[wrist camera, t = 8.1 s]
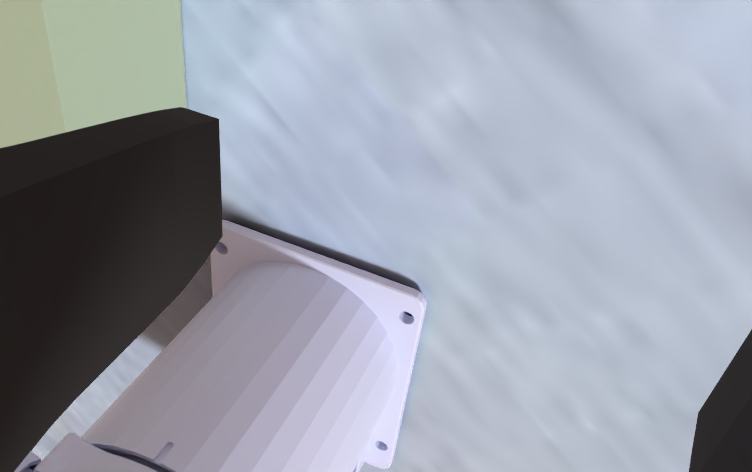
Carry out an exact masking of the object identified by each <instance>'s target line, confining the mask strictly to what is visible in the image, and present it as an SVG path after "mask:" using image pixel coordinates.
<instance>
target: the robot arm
mask: <svg viewBox="0 0 752 472" xmlns="http://www.w3.org/2000/svg"><path fill="white" fill-rule="evenodd" d="M222 243H223V244H225V246H226V247H225V246H224V245H223V244H222ZM209 255H210V258H211V278H212V299H211V300H210V301H209V302H208V303H207V304H206V305H205V306H204V307H203V308H202V309H201V310H200V311H199V312H198V314H197V315H196V316H195V317H194V318H193V319H192V320H191V321H190V322H189V323H188V324H187V325H186V326H185V327H184V328H183V329H182V331H181V332H180V333H179V334H178V335H177V336H176V337H175V338H174V339H173V340H172V341H171V342H170V343H169V344H168V345H167V346H166V348H165V349H164V350H163V351H162V352H161V353H160V354H159V355H158V356H157V357H156V358H155V359H154V360H153V361H152V362H151V364H150V365H149V366H148V367H147V368H146V369H145V370H144V371H143V372H142V373H141V374H140V375H139V376H138V377H137V378H136V379H135V381H134V382H133V383H132V384H131V385H130V386H129V387H128V388H127V389H126V390H125V391H124V392H123V393H122V394H121V395H120V396H119V398H118V399H117V400H116V401H115V402H114V403H113V404H112V405H111V406H110V407H109V408H108V409H107V410H106V411H105V412H104V414H103V415H102V416H101V417H100V418H99V419H98V420H97V421H96V422H95V423H94V424H93V425H92V426H91V427H90V428H89V429H88V431H87V432H86V433H85V434H84V435H83V436H82V437H81V438H80V437H79V436H78V435H76V434H75V433H68V434H67V435H66V436H65V438H64V439H63V440H62V441H61V442H60V443H59V444H58V445H57V446H56V447H55V448H54V449H53V450H52V451H51V452H50V453H49V454H48V455H47V456H46V457H45V458H44V459H43V460H42V461H41V458H39V457H38V456H37V455H35V454H34V453H33V452H31V450H32V449H33V448H34V446H35V445H36V444H37V443H38V442H39V440H40V439H41V438H42V437H43V435H44V434H45V433H46V432H47V430H48V429H49V428H50V427H51V426H52V424H53V423H54V422H55V421H56V420H57V419H58V418H59V417H60V416H61V415H62V413H63V412H64V411H65V410H66V409H67V408H68V407H69V406H70V405H71V404H72V402H73V401H74V400H75V399H76V398H77V397H78V396H79V395H80V394H81V393H82V392H83V391H84V390H85V389H86V388H87V387H88V386H89V385H90V384H91V383H92V382H93V381H94V380H95V379H96V378H97V377H98V376H99V375H100V374H101V373H102V372H103V371H104V370H105V369H106V368H107V367H108V366H109V365H110V364H111V363H112V362H113V361H114V360H115V359H116V358H117V357H118V356H119V355H120V354H121V353H122V352H123V351H124V350H125V349H126V348H127V347H128V346H129V345H130V344H131V343H132V342H133V341H134V340H135V339H136V338H137V337H138V336H139V335H140V334H141V333H142V332H143V331H144V330H145V329H146V328H147V327H148V326H149V325H150V324H151V323H152V322H153V321H154V320H155V318H156V317H157V316H158V315H159V314H160V313H161V312H162V311H163V310H164V309H165V308H166V307H167V306H168V305H169V304H170V303H171V302H172V301H173V300H174V299H175V298H176V297H177V296H178V295H179V294H180V293H181V291H182V290H183V289H184V288H185V287H186V286H187V284H188V283H189V282H190V280H191V279H192V278H193V276H194V275H195V274H196V273H197V271H198V270H199V269H200V267H201V266H202V265H203V263H204V262H205V260H206V259H207V258H208V256H209ZM426 307H427V301H426V299H425V297H424V295H423V294H422V293H421V292H419V291H418V290H416V289H413V288H411V287H408V286H405V285H402V284H400V283H397V282H394V281H391V280H389V279H386V278H383V277H380V276H378V275H375V274H372V273H369V272H367V271H364V270H361V269H359V268H356V267H353V266H350V265H348V264H345V263H342V262H339V261H337V260H334V259H331V258H328V257H326V256H323V255H320V254H317V253H315V252H312V251H309V250H306V249H304V248H301V247H298V246H295V245H293V244H290V243H287V242H284V241H282V240H279V239H276V238H273V237H271V236H268V235H265V234H262V233H260V232H257V231H254V230H251V229H249V228H246V227H243V226H240V225H238V224H235V223H232V222H229V221H227V220H222V202H221V171H220V141H219V119H217V118H214V117H211V116H208V115H205V114H201V113H198V112H195V111H192V110H189V109H186V108H183V107H178V108H171V109H164V110H158V111H153V112H148V113H144V114H139V115H135V116H130V117H126V118H122V119H118V120H113V121H109V122H105V123H101V124H97V125H93V126H89V127H85V128H81V129H77V130H73V131H69V132H65V133H61V134H57V135H53V136H49V137H45V138H41V139H37V140H33V141H29V142H25V143H21V144H17V145H12V146H8V147H3V148H0V472H359V471H360V469H361V467H362V465H363V463H364V462H366V463H368V464H371V465H373V466H375V467H378V468H381V469H386V468H389V467H390V465H391V463H392V461H393V458H394V453H395V449H396V444H397V440H398V435H399V431H400V426H401V421H402V417H403V412H404V408H405V403H406V398H407V394H408V389H409V385H410V380H411V375H412V371H413V366H414V362H415V357H416V352H417V348H418V343H419V339H420V334H421V330H422V325H423V320H424V316H425V311H426ZM404 311H405V312H408V313H410V314H412V316H413V317H412V316H408V315H407V314H406V313H405V312H404ZM689 472H752V330H751V332H750V333H749V335H748V336H747V338H746V339H745V341H744V342H743V344H742V346H741V347H740V349H739V350H738V352H737V353H736V355H735V357H734V358H733V360H732V361H731V363H730V364H729V366H728V367H727V369H726V371H725V372H724V374H723V375H722V377H721V378H720V380H719V382H718V383H717V385H716V386H715V388H714V389H713V391H712V392H711V394H710V396H709V397H708V399H707V400H706V402H705V403H704V405H703V407H702V408H701V410H700V411H699V413H698V418H697V424H696V430H695V436H694V442H693V448H692V454H691V462H690V469H689Z"/></svg>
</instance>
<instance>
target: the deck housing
mask: <svg viewBox="0 0 752 472" xmlns="http://www.w3.org/2000/svg"><path fill="white" fill-rule="evenodd" d="M178 107H183V108H186V109H187V96H186V80H185V65H184V49H183V33H182V18H181V2H180V0H0V148H3V147H8V146H12V145H17V144H21V143H25V142H29V141H33V140H37V139H41V138H45V137H49V136H53V135H57V134H61V133H65V132H69V131H73V130H77V129H81V128H85V127H89V126H93V125H97V124H101V123H105V122H109V121H113V120H118V119H122V118H126V117H130V116H135V115H139V114H144V113H148V112H153V111H158V110H164V109H171V108H178Z"/></svg>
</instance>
